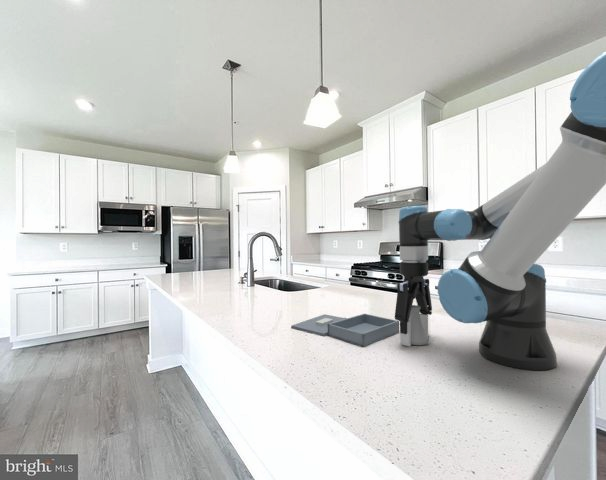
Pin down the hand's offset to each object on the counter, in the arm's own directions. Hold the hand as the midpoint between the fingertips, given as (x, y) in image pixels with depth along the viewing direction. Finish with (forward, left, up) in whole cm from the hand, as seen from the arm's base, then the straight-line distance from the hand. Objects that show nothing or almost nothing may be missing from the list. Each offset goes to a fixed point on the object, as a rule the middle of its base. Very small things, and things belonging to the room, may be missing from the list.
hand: (414, 340), depth 83 cm
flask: (0, 0, 0) cm, 0 cm away
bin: (+14, +5, 0) cm, 15 cm away
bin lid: (+29, +7, 0) cm, 30 cm away
